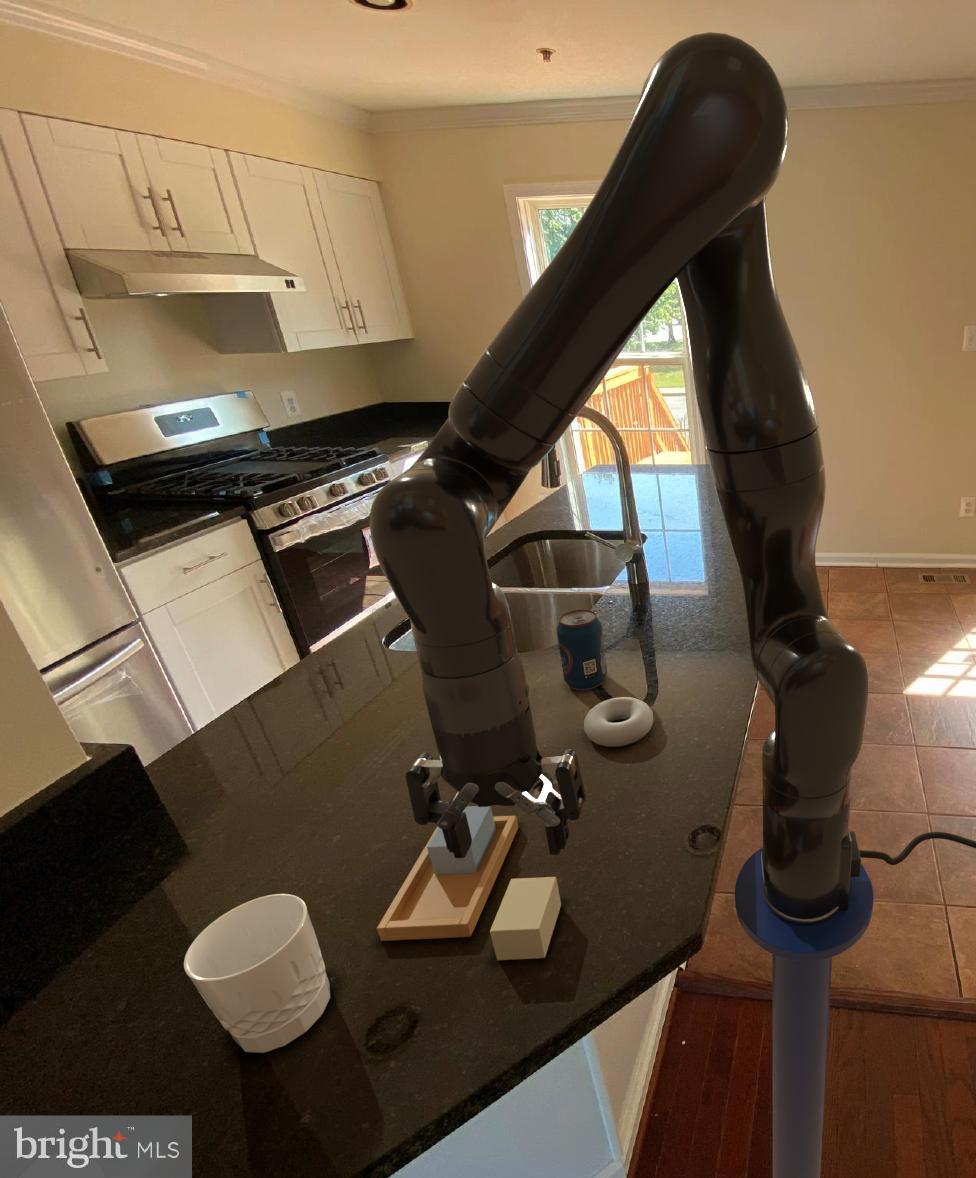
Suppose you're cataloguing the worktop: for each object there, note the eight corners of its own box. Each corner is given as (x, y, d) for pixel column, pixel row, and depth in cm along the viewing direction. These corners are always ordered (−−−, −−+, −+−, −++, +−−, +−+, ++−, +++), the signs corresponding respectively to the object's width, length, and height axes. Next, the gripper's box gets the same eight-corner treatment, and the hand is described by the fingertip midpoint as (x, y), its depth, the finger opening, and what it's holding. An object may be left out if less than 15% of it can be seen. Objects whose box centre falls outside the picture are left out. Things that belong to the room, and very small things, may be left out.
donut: (632, 704, 100) (572, 728, 94) (631, 685, 99) (570, 708, 92) (667, 733, 93) (605, 761, 87) (666, 713, 92) (602, 740, 86)
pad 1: (496, 831, 74) (490, 805, 73) (477, 873, 69) (470, 845, 67) (457, 833, 74) (450, 806, 72) (434, 875, 68) (426, 847, 67)
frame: (518, 826, 76) (516, 815, 75) (470, 936, 62) (467, 924, 62) (445, 829, 75) (441, 818, 75) (380, 941, 62) (376, 928, 61)
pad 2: (561, 904, 66) (556, 876, 64) (545, 958, 60) (538, 929, 59) (517, 906, 66) (511, 878, 64) (496, 960, 60) (489, 931, 59)
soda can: (559, 677, 107) (549, 614, 102) (600, 666, 110) (592, 604, 105) (571, 697, 101) (561, 630, 97) (613, 684, 105) (606, 619, 100)
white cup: (275, 1074, 51) (233, 992, 47) (203, 1045, 53) (157, 965, 49) (360, 983, 58) (329, 905, 54) (293, 961, 60) (259, 884, 56)
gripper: (366, 732, 49) (413, 886, 55) (554, 728, 50) (579, 879, 56) (413, 681, 56) (450, 822, 62) (578, 677, 56) (597, 818, 63)
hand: (511, 849), depth 59 cm, fingers open, 8 cm apart
